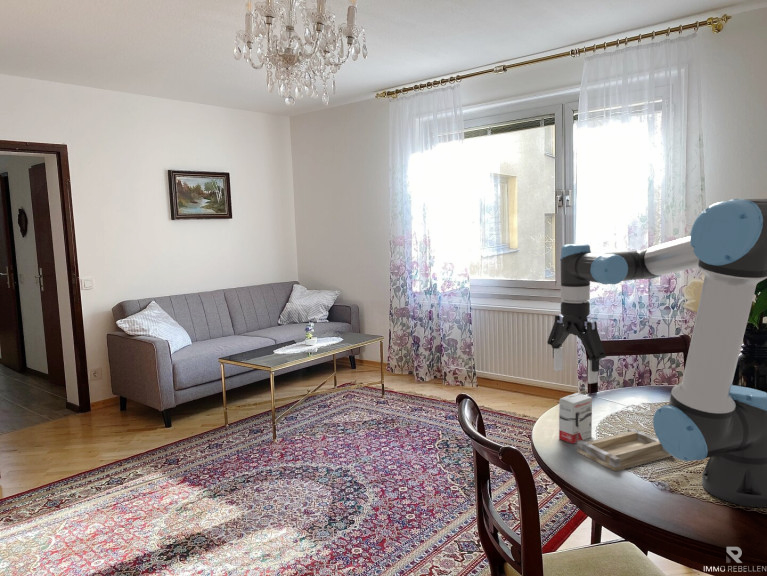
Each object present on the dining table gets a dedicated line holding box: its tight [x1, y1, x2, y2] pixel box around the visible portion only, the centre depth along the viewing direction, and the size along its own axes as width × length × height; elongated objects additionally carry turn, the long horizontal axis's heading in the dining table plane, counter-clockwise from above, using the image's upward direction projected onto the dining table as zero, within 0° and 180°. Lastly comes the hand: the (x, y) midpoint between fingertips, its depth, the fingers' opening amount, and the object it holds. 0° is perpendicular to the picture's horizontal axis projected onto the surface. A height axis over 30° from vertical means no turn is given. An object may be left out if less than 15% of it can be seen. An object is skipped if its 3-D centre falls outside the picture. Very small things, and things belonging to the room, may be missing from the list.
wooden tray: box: [576, 427, 673, 472], centre depth 143 cm, size 13×19×3 cm
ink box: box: [558, 392, 593, 445], centre depth 154 cm, size 8×5×12 cm, turn 123°
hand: (574, 376), depth 153 cm, fingers open, 13 cm apart
